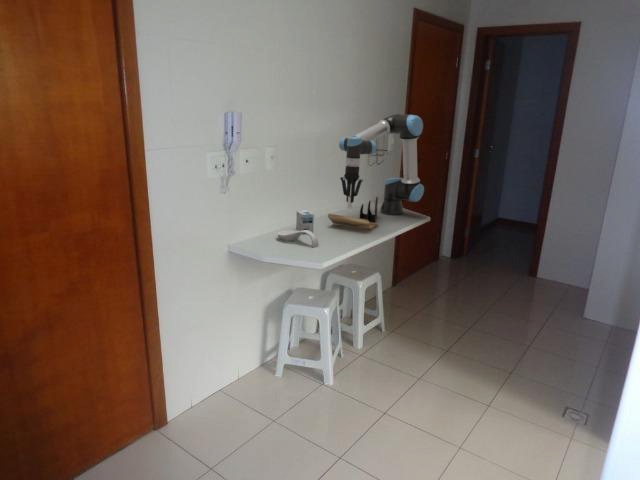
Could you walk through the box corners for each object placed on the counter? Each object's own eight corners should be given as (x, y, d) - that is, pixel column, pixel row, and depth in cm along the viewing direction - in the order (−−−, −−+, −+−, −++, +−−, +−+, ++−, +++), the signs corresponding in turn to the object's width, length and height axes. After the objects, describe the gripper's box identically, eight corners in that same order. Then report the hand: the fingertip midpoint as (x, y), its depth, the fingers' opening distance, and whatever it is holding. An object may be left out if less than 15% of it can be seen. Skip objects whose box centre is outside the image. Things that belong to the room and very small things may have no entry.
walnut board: (340, 220, 285) (340, 217, 284) (377, 226, 275) (378, 223, 274) (334, 223, 277) (334, 220, 276) (372, 230, 267) (372, 226, 266)
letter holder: (376, 216, 300) (378, 195, 296) (375, 224, 281) (377, 201, 277) (361, 215, 301) (362, 193, 297) (358, 222, 282) (360, 199, 278)
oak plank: (333, 223, 275) (334, 220, 275) (371, 230, 265) (372, 226, 265) (327, 216, 266) (328, 213, 267) (367, 223, 256) (368, 219, 257)
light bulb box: (313, 233, 255) (314, 214, 252) (301, 234, 252) (302, 214, 249) (306, 228, 264) (307, 209, 261) (295, 228, 262) (296, 210, 259)
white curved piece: (272, 240, 240) (272, 226, 238) (286, 235, 249) (287, 222, 247) (309, 249, 227) (309, 235, 225) (323, 244, 237) (323, 230, 234)
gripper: (338, 165, 255) (336, 207, 261) (361, 167, 249) (357, 210, 256) (344, 163, 261) (341, 205, 268) (366, 166, 256) (362, 208, 262)
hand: (349, 207), depth 262 cm, fingers closed
